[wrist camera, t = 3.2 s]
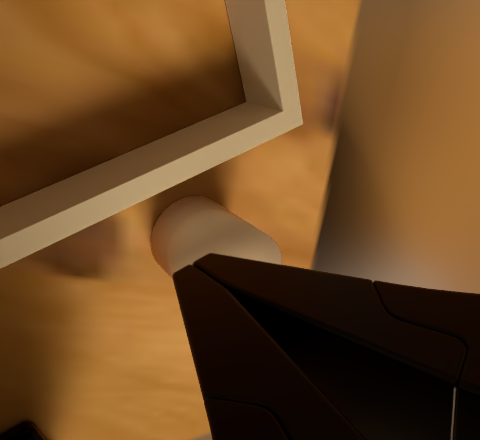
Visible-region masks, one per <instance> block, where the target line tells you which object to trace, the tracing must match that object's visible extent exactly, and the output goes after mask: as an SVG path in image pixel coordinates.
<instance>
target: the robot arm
mask: <svg viewBox="0 0 480 440" xmlns="http://www.w3.org/2000/svg"><path fill="white" fill-rule="evenodd" d="M172 277H173V281H174V285H175V289H176V293H177V297H178V301H179V305H180V309H181V313H182V317H183V321H184V325H185V329H186V333H187V337H188V341H189V345H190V349H191V353H192V356H193V360H194V364H195V368H196V372H197V376H198V380H199V384H200V388H201V392H202V396H203V399H204V405H205V409H206V413H207V417H208V421H209V425H210V430H211V435H212V439H213V440H480V294H475V293H463V292H455V291H445V290H436V289H427V288H420V287H414V286H407V285H399V284H393V283H388V282H382V281H374V282H372V281H371V280H369V279H363V278H356V277H351V276H345V275H340V274H333V273H328V272H322V271H316V270H310V269H304V268H298V267H292V266H286V265H280V264H275V263H269V262H263V261H257V260H251V259H245V258H239V257H233V256H227V255H221V254H215V253H208V254H206V255H205V256H203V257H201V258H199V259H197V260H196V261H194V262H193V264H192V265H191V264H189V265H187V266H185V267H183V268H181V269H180V270H178V271H176V272H174V273H173V275H172ZM26 431H28V432H27V433H25V434H22V433H23V432H26ZM0 440H46V438H45V437H44V436H43V434H42V433H41V432H40V431H39V429H38V428H37V427H36V425H35V424H34V423H33V422H30V421H26V422H22V423H20V424H18V425H16V426H15V427H13V428H12V429H10V430H8V431H7V432H5V433H4V434H2V435H0Z"/></svg>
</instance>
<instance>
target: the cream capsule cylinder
mask: <svg viewBox="0 0 480 440" xmlns="http://www.w3.org/2000/svg"><path fill="white" fill-rule="evenodd" d="M151 251H152V254H153V257H154V259H155V260H156V262H157V263H158V264H159V265H160V266H161V267H162V269H163V270H164V271H165V272H166V273H167V274H168V275H169V276H170V277H171V278H172V279H173V277H172V275H173V273H174V272H176V271H178V270H180V269H181V268H183V267H185V266H187V265H189V264H191V265H192V264H193V262H194V261H196V260H197V259H199V258H201V257H203V256H205V255H206V254H208V253H215V254H221V255H227V256H233V257H239V258H245V259H251V260H257V261H263V262H269V263H275V264H280V265H282V259H281V253H280V250H279V247H278V245H277V244H276V242H275V241H274V240H273V239H272V238H271V237H270V236H268V235H267V234H265V233H264V232H262V231H260V230H259V229H257V228H256V227H254V226H252V225H251V224H249V223H248V222H246V221H245V220H243V219H241V218H240V217H238V216H237V215H235V214H234V213H232V212H230V211H229V210H227V209H226V208H224V207H223V206H221V205H219V204H218V203H216V202H215V201H213V200H211V199H209V198H207V197H204V196H188V197H184V198H182V199H179V200H177V201H175V202H174V203H172V204H171V205H170V206H168V207H167V208H166V209H165V210H164V211H163V212H162V213H161V215H160V216H159V218H158V219H157V221H156V223H155V225H154V227H153V230H152V234H151Z"/></svg>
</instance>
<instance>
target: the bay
mask: <svg viewBox="0 0 480 440" xmlns="http://www.w3.org/2000/svg"><path fill="white" fill-rule="evenodd" d="M225 3H226V8H227V13H228V17H229V22H230V27H231V32H232V36H233V41H234V46H235V51H236V55H237V60H238V65H239V69H240V74H241V79H242V84H243V88H244V93H245V98H246V102H245V103H242V104H240V105H237V106H235V107H233V108H230V109H228V110H226V111H223V112H221V113H219V114H216V115H214V116H212V117H209V118H207V119H205V120H202V121H200V122H198V123H195V124H193V125H191V126H188V127H186V128H184V129H181V130H179V131H177V132H174V133H172V134H170V135H167V136H165V137H163V138H160V139H158V140H155V141H153V142H151V143H148V144H146V145H144V146H141V147H139V148H137V149H134V150H132V151H130V152H127V153H125V154H123V155H120V156H118V157H116V158H113V159H111V160H109V161H106V162H104V163H102V164H99V165H97V166H95V167H92V168H90V169H88V170H85V171H83V172H81V173H78V174H76V175H73V176H71V177H69V178H66V179H64V180H62V181H59V182H57V183H55V184H52V185H50V186H48V187H45V188H43V189H41V190H38V191H36V192H34V193H31V194H29V195H27V196H24V197H22V198H20V199H17V200H15V201H13V202H10V203H8V204H6V205H3V206H1V207H0V269H1V268H3V267H5V266H7V265H9V264H11V263H13V262H16V261H18V260H20V259H22V258H24V257H26V256H28V255H30V254H32V253H34V252H36V251H39V250H41V249H43V248H45V247H47V246H49V245H51V244H53V243H55V242H57V241H59V240H62V239H64V238H66V237H68V236H70V235H72V234H74V233H76V232H78V231H80V230H82V229H85V228H87V227H89V226H91V225H93V224H95V223H97V222H99V221H101V220H103V219H105V218H108V217H110V216H112V215H114V214H116V213H118V212H120V211H122V210H124V209H126V208H128V207H131V206H133V205H135V204H137V203H139V202H141V201H143V200H145V199H147V198H149V197H151V196H154V195H156V194H158V193H160V192H162V191H164V190H166V189H168V188H170V187H172V186H174V185H177V184H179V183H181V182H183V181H185V180H187V179H189V178H191V177H193V176H195V175H198V174H200V173H202V172H204V171H206V170H208V169H210V168H212V167H214V166H216V165H218V164H221V163H223V162H225V161H227V160H229V159H231V158H233V157H235V156H237V155H239V154H241V153H244V152H246V151H248V150H250V149H252V148H254V147H256V146H258V145H260V144H262V143H264V142H267V141H269V140H271V139H273V138H275V137H277V136H279V135H281V134H283V133H285V132H287V131H290V130H292V129H294V128H296V127H298V126H300V125H302V124H303V120H302V113H301V107H300V100H299V93H298V86H297V79H296V72H295V66H294V59H293V52H292V45H291V38H290V31H289V25H288V18H287V11H286V4H285V0H225Z"/></svg>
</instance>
